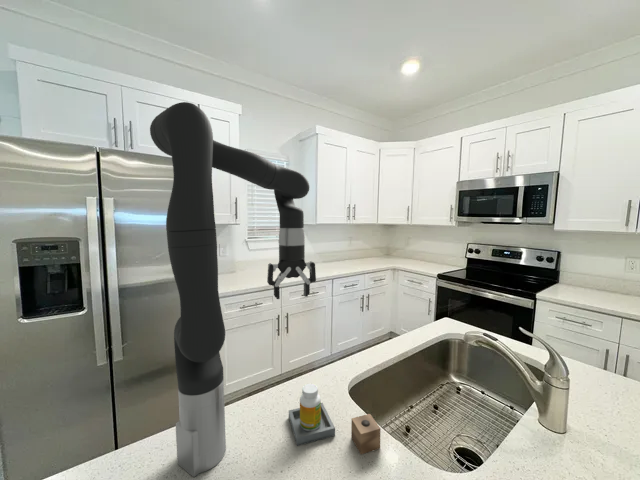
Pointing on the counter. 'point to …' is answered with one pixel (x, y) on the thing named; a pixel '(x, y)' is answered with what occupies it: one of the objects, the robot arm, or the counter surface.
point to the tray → (311, 436)
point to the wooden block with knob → (365, 433)
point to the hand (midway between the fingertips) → (292, 297)
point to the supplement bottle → (310, 408)
